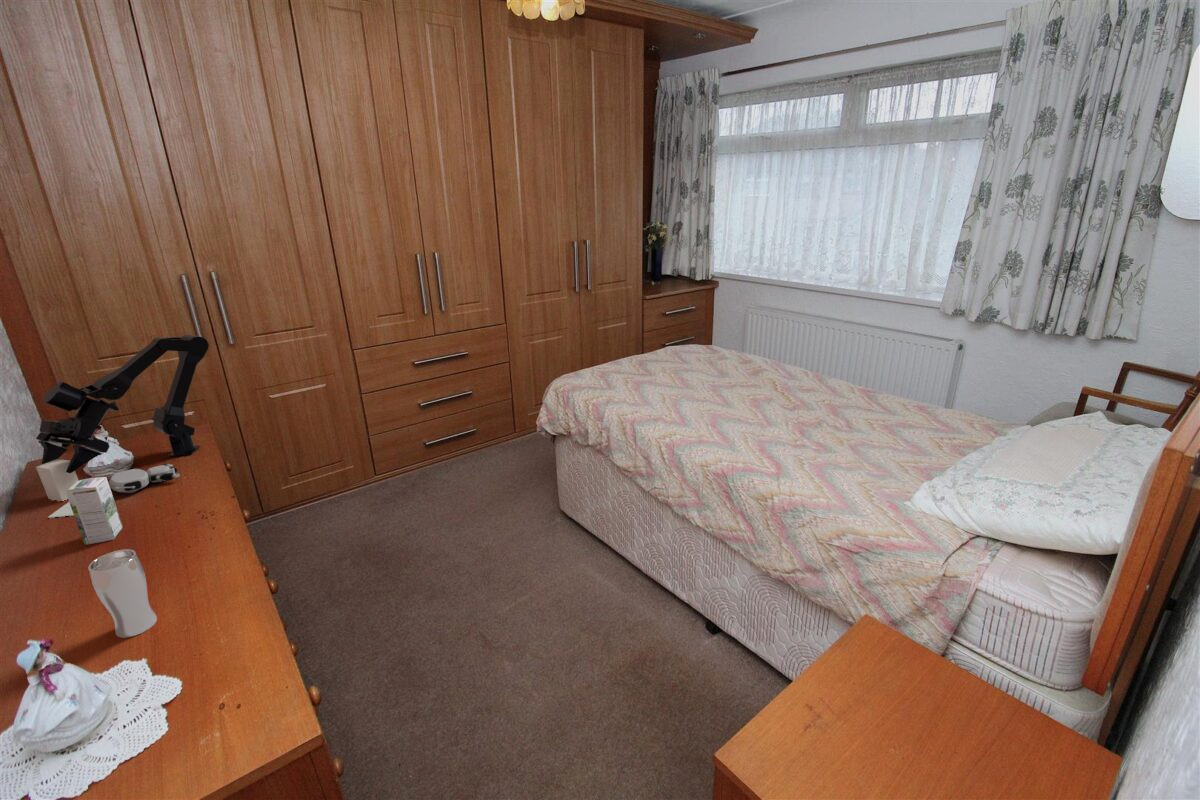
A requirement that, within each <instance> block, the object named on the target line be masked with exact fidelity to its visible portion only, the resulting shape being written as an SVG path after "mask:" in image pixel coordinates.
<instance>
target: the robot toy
mask: <svg viewBox="0 0 1200 800" xmlns="http://www.w3.org/2000/svg"><path fill="white" fill-rule="evenodd" d="M177 472H178V469H177V468H176V467H175V466H174V464H171V463H167V464H165V463H164V464H160V465H156V466H153V467H150V468H148V469H147V470H143V469H141V468H133V469H127V470H121V471H118V472H116V473H112V472H109V473H108V475H110V477H109V481H108V483H109V486H110V489H112V490H113V491H115V492H118V493H128V494H132V493H133V494H134V493H135V492H138V490H141V489H143V488H145V487H147V486H148V484H149V483H150V482H151V483H153V484H154V483H163V482H162V481H164V482H167V481H170V480H171V481H172V480H174V479H177V478H178V479H179V478H180V476H181V474H180V473H177ZM166 480H167V481H166Z"/></svg>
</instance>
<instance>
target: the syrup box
mask: <svg viewBox="0 0 1200 800" xmlns="http://www.w3.org/2000/svg"><path fill="white" fill-rule="evenodd" d="M107 478H108V477H106V476H105V477H104V476H102V477H90V478H83V479H80V480H79V479H78V480H79V481H77V482H76V483H75V484H74V485H73V486H72V487H70V488H69V489H68V490H67V491H66V495H67V497H68V502H69V503H70V506H71V508H72V511H73V514H74V516H73V517H74V519H75V522H76V525H77V528H78V531H79V534H80V535H81V539H82V542H83V544H84V545H86V546H87V545H93V544H99V543H103V542H108V541H113V540H115V539H116V537H118V534H119V533H120V532H121V531H122V530H123V528H124V526H123V523H122V520H121V518H120V514H119V510H118V508H117V505H116V504H117V503H116V502H115V498H114V496H113V492H112V490H111V489H112V488H111V487H110V483H109V481H108V479H107Z"/></svg>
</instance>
